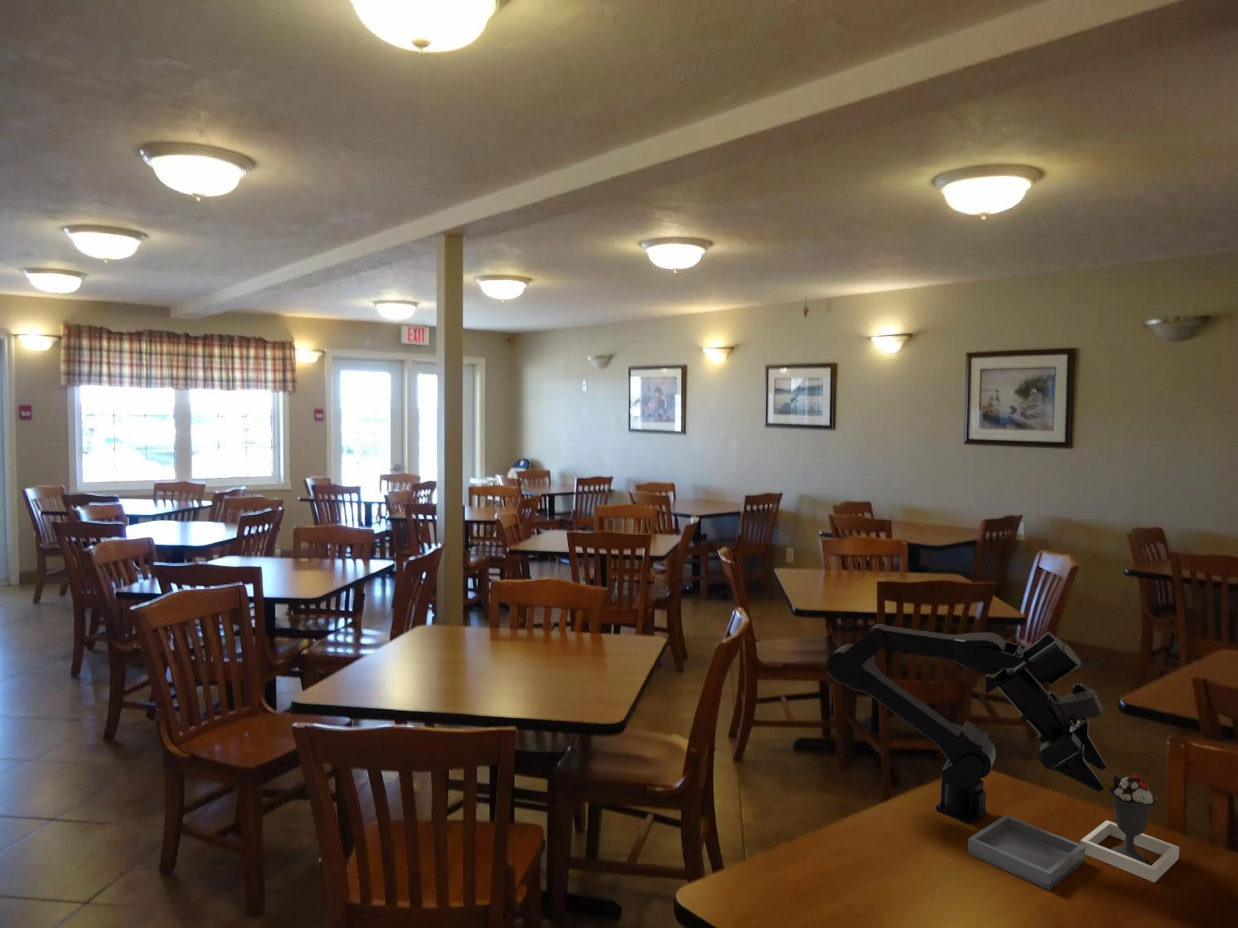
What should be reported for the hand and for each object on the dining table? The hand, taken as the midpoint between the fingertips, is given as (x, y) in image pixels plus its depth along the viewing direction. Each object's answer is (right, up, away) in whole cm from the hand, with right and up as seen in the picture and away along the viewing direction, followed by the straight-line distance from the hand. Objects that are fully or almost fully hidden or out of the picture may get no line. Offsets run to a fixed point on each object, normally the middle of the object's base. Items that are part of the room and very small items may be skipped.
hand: (1103, 778), depth 132 cm
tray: (-14, -12, -3) cm, 18 cm away
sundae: (+3, -12, -1) cm, 13 cm away
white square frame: (+3, -12, -1) cm, 12 cm away
